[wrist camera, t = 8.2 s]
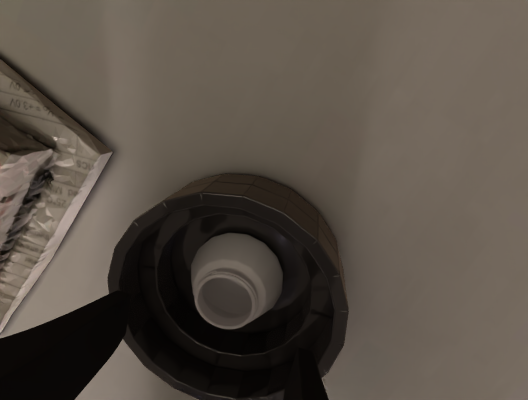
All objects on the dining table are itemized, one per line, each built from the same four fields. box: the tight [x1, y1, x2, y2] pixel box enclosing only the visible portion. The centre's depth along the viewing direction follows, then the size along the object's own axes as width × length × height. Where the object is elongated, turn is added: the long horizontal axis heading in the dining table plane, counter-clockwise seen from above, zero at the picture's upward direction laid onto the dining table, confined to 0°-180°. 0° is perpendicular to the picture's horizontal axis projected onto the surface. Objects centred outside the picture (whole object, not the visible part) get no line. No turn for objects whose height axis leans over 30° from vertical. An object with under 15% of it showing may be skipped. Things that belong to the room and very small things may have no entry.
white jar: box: [191, 233, 283, 329], centre depth 17 cm, size 5×3×5 cm
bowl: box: [108, 174, 349, 400], centre depth 17 cm, size 11×11×4 cm
